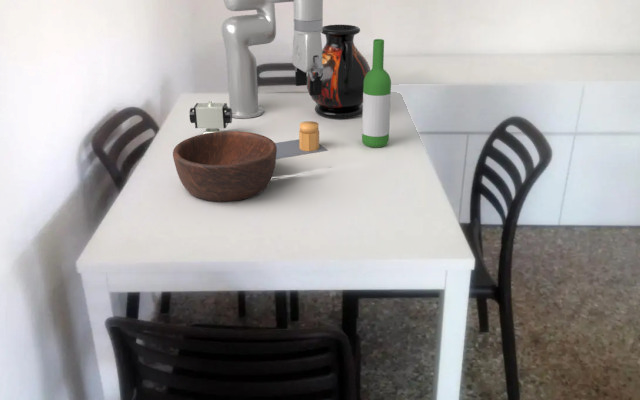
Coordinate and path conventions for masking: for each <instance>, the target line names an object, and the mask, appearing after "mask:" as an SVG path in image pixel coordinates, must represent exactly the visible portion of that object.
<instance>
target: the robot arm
mask: <svg viewBox="0 0 640 400" xmlns="http://www.w3.org/2000/svg"><path fill="white" fill-rule="evenodd" d="M223 2H224V6H225V9H227V10H229V11H231V12H245V11H247V12H248V11H256V13H255V14H244V15H243V14H241V15H234V16H233V15H232V16H231V17H227V18H225V20H224V21H223V22H222V24H221V35H222V38H223V45H224V48H225V57H226V58H225V59H226V67H227V70H226V71H227V83H228V84H227V85H228V99H229V103H228V104H229V106H228V108H231V109H232V118H234V119H235V118H236V119H250V118H256V117H259V116H261V115H263V113H264V108H263V107H262V106H260V105H259V96H258V95H259V92H258V67H257V59H256V57H255V55H254V53H253V52H252V51H251V50H250V49H249V47H251V46H260V45H267V44H270V43H272V42H273V41H274V40H275V39H276V36H277V21H276V8H275V4H281V3H293V36H292V37H293V39H292V54H291V55H292V57H291V58H292V60H291V61H292V65H293V66H294V72H295V73H294V74H295V75H294V78H295V83H294V84H295V85H294V86H296V87H299V86H300V87H301V86H307V76H308V72H309V74H310V78H311V80H310V94H309V96H310V95H311V96H313V95H320V94H321V80H322V76H323V70H324V67H323V65H322V49H323V44H322V42H323V40H322V32H323V23H324V22H323V19H324V18H323V15H324V9H323V7H324V0H223ZM311 68H314V69H311ZM313 72H315V74H314V75H313ZM311 96H310V97H311Z"/></svg>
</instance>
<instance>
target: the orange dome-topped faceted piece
mask: <svg viewBox="0 0 640 400" xmlns="http://www.w3.org/2000/svg"><path fill="white" fill-rule="evenodd" d="M298 139H299V148H300V149H301V150H303V151H315V150H317V149H319V144H320V130H319V122H317V121H312V120H308V121H307V120H306V121H302V122H300V123H299V131H298Z"/></svg>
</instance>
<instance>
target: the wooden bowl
mask: <svg viewBox="0 0 640 400" xmlns="http://www.w3.org/2000/svg"><path fill="white" fill-rule="evenodd" d="M275 143H276V142H274V141H273V140H272V139H271V138H269V137H267V136H265V135H263V134H259V133H254V132H249V131H240V130H239V131H238V130H237V131H236V130H234V131H233V130H231V131H230V130H229V131H227V130H225V131H221V132H213V133H206V134H203V133H202V134H199V135H194V136H191V137H189V138H186V139H184V140H181V141H180V142H179V143H177V145H175V146H174V148H173V150H172V158H173V162H174V166H175V169H176V172H177V173H176V174H177V175H178V176H177V177H178V178H179V180H180V183H181V184H182V186H183V187H184V189H186V191H187V192H188V193H189V194H190V195H192V196H194V197H195V198H197V199H198V198H199V199H201V200H204V201H210V202H234V201H240V200H245V199H248V198H252V197H255V196H257V195H259V194H260V193H262V192H263V191H264V190H266V188H267V187H268V185H269V184H270V182H271V180H272V179H273V176H274V172H275V168H276V162H277V161H276V160H277V159H276V153H277V147H276V144H275Z"/></svg>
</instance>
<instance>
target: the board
mask: <svg viewBox="0 0 640 400" xmlns="http://www.w3.org/2000/svg"><path fill="white" fill-rule="evenodd" d="M274 143H275V144H276V147H277V153H276V160H280V159H287V158H292V157H297V156H304V155H310V154H311V155H312V154H316V153H320V152H321V153H323V152H328V151H329V150H328V149H327V148H326V147H325V146H323V145H322V144H321V143H319V149H317V150H315V151H303V150H301V149H300V148H299V138H298V139H294V140H293V139H291V140H287V141H286V140H285V141H280V142H274Z"/></svg>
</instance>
